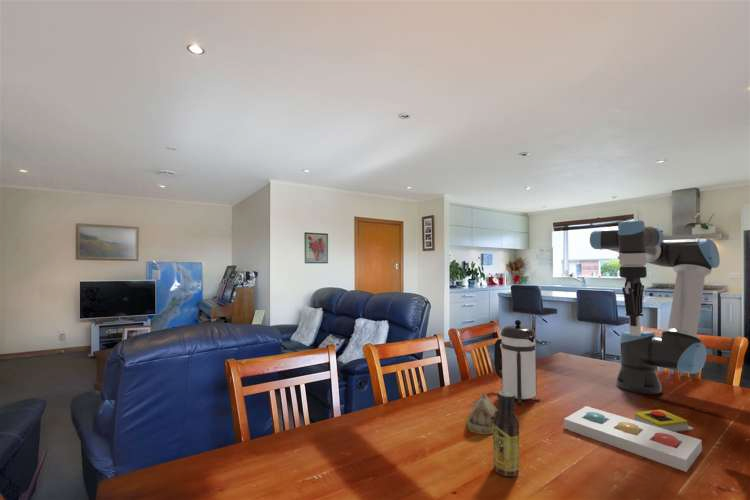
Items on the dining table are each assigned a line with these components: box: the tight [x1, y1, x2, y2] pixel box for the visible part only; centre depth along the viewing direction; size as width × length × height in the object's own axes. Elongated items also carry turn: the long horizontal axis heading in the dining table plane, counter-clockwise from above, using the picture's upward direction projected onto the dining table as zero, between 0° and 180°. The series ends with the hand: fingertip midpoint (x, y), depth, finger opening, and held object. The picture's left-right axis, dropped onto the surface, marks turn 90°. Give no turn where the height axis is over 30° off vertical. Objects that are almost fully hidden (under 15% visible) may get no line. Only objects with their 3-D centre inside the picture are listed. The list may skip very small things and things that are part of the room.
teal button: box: [586, 412, 605, 424], centre depth 115 cm, size 5×5×4 cm
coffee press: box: [493, 319, 541, 406], centre depth 142 cm, size 17×16×30 cm
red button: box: [655, 433, 678, 448], centre depth 101 cm, size 5×5×4 cm
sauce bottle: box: [492, 390, 520, 478], centre depth 93 cm, size 7×6×20 cm
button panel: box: [563, 405, 703, 473], centre depth 108 cm, size 16×30×3 cm, turn 38°
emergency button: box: [633, 409, 694, 433], centre depth 117 cm, size 9×4×15 cm
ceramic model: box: [466, 393, 498, 435], centre depth 118 cm, size 14×11×10 cm
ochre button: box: [618, 422, 639, 436], centre depth 108 cm, size 5×5×4 cm
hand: (635, 335), depth 124 cm, fingers closed
